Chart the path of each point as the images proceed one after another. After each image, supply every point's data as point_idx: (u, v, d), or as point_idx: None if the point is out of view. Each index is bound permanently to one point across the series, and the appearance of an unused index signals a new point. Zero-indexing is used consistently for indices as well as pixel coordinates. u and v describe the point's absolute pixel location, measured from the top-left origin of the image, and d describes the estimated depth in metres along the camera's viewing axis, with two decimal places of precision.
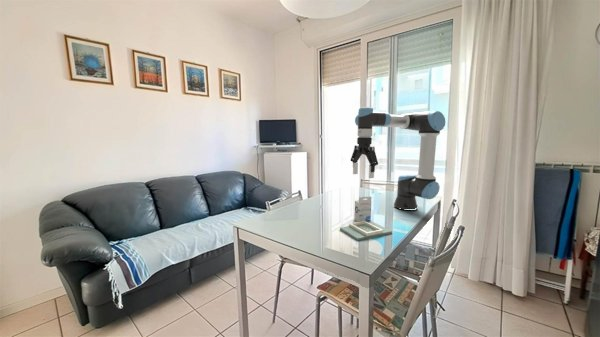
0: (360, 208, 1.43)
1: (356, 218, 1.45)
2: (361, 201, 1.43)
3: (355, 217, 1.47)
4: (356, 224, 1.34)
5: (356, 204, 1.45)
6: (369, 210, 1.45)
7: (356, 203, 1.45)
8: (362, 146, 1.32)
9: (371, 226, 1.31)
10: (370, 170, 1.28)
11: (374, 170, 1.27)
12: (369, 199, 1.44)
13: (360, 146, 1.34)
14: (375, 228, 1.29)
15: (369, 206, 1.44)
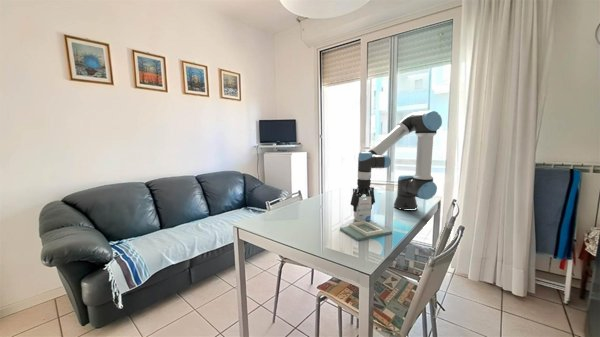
0: (360, 208, 1.43)
1: (356, 218, 1.45)
2: (361, 201, 1.43)
3: (355, 217, 1.47)
4: (356, 224, 1.34)
5: None
6: (369, 210, 1.45)
7: None
8: None
9: (371, 226, 1.31)
10: None
11: (354, 210, 1.43)
12: (369, 199, 1.44)
13: None
14: (375, 228, 1.29)
15: (369, 206, 1.44)
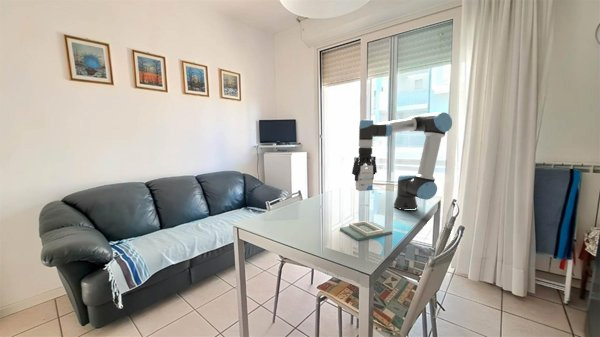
0: (362, 177, 1.40)
1: (358, 188, 1.43)
2: (362, 170, 1.40)
3: (357, 187, 1.44)
4: (356, 224, 1.34)
5: None
6: (371, 179, 1.42)
7: None
8: None
9: (371, 226, 1.31)
10: None
11: (356, 179, 1.41)
12: (371, 168, 1.41)
13: None
14: (375, 228, 1.29)
15: (371, 175, 1.42)
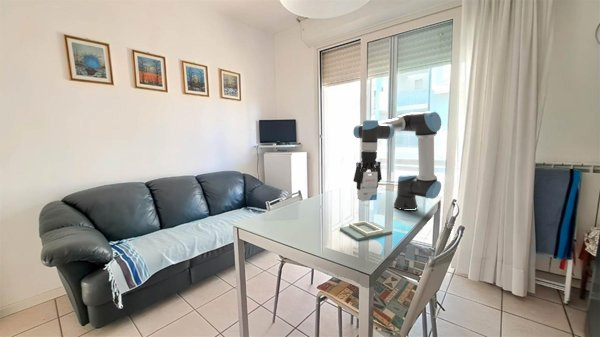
0: (365, 185, 1.23)
1: (360, 197, 1.25)
2: (366, 177, 1.22)
3: (359, 196, 1.26)
4: (356, 224, 1.34)
5: None
6: (375, 188, 1.25)
7: None
8: None
9: (371, 226, 1.31)
10: None
11: (358, 188, 1.23)
12: (375, 175, 1.24)
13: None
14: (375, 228, 1.29)
15: (375, 183, 1.24)
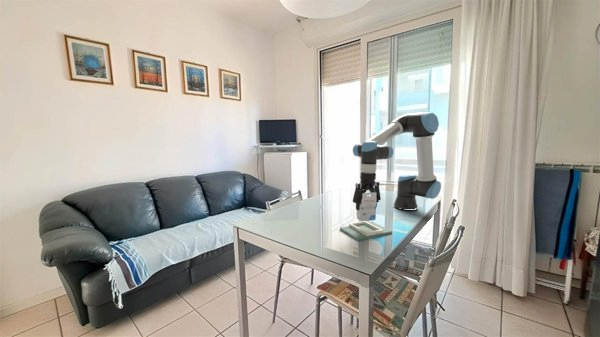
0: (364, 205, 1.24)
1: (359, 217, 1.27)
2: (365, 197, 1.24)
3: (358, 216, 1.28)
4: (356, 224, 1.34)
5: None
6: (374, 208, 1.26)
7: None
8: None
9: (371, 226, 1.31)
10: None
11: (357, 208, 1.25)
12: (374, 195, 1.25)
13: None
14: (375, 228, 1.29)
15: (374, 203, 1.26)
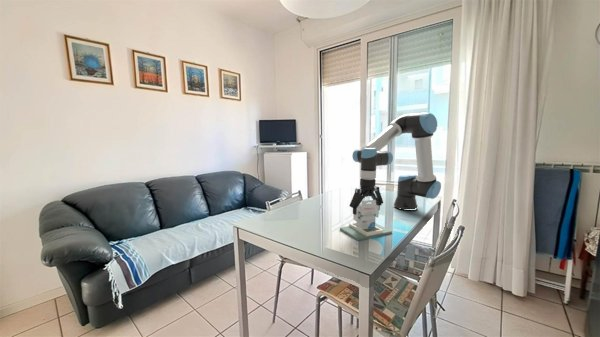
0: (364, 213, 1.25)
1: (359, 225, 1.27)
2: (364, 205, 1.25)
3: (357, 224, 1.29)
4: (356, 224, 1.34)
5: (359, 209, 1.27)
6: (373, 215, 1.27)
7: (359, 208, 1.27)
8: None
9: None
10: None
11: (354, 213, 1.24)
12: (373, 203, 1.26)
13: None
14: (375, 228, 1.29)
15: (373, 211, 1.27)
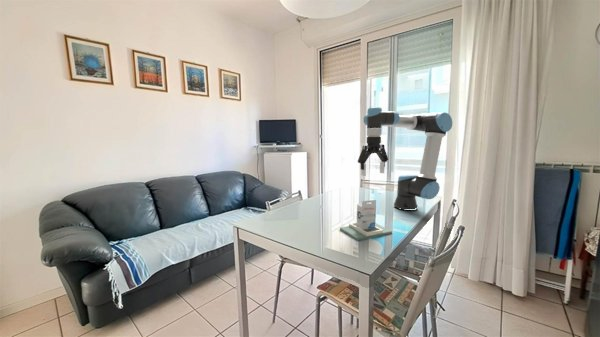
0: (364, 213, 1.25)
1: (359, 225, 1.27)
2: (364, 205, 1.25)
3: (357, 224, 1.29)
4: (356, 224, 1.34)
5: (359, 209, 1.27)
6: (373, 216, 1.27)
7: (359, 208, 1.27)
8: None
9: None
10: None
11: (362, 168, 1.34)
12: (374, 203, 1.26)
13: None
14: (375, 228, 1.29)
15: (373, 211, 1.27)
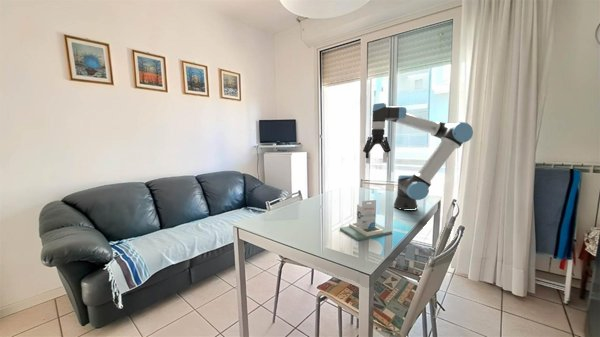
0: (364, 213, 1.25)
1: (359, 225, 1.27)
2: (364, 205, 1.25)
3: (357, 224, 1.29)
4: (356, 224, 1.34)
5: (359, 209, 1.27)
6: (373, 216, 1.27)
7: (359, 208, 1.27)
8: None
9: None
10: None
11: (366, 156, 1.50)
12: (373, 203, 1.26)
13: None
14: (375, 228, 1.29)
15: (373, 211, 1.27)
